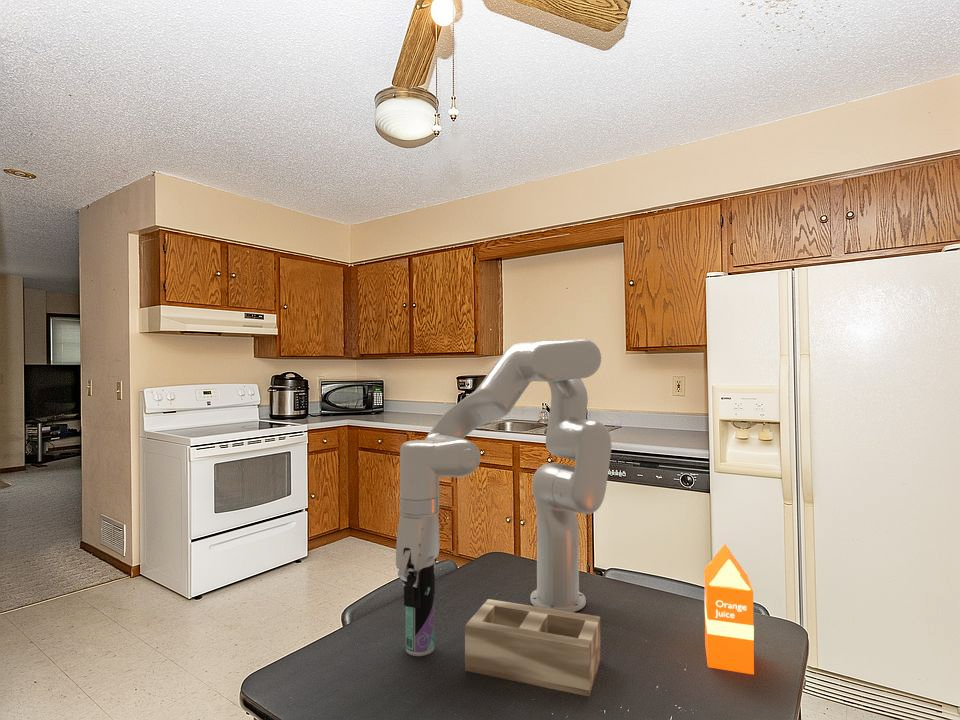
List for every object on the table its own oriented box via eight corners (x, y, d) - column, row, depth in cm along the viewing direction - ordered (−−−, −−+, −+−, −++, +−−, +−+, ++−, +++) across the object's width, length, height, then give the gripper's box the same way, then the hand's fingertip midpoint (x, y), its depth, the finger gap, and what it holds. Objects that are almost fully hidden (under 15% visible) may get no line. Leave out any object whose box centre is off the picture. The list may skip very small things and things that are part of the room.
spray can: (429, 657, 103) (429, 549, 103) (401, 654, 104) (401, 547, 105) (437, 643, 109) (437, 540, 109) (410, 640, 110) (410, 539, 110)
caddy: (488, 639, 110) (488, 598, 110) (600, 660, 102) (600, 616, 102) (465, 670, 99) (464, 625, 99) (589, 696, 91) (588, 647, 91)
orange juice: (748, 650, 106) (747, 545, 106) (754, 674, 97) (753, 560, 97) (704, 643, 108) (703, 540, 108) (706, 667, 100) (705, 555, 100)
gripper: (422, 494, 116) (422, 581, 116) (379, 514, 100) (379, 615, 100) (455, 497, 113) (455, 586, 113) (416, 518, 97) (416, 622, 97)
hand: (419, 599), depth 107 cm, fingers closed on spray can, 5 cm apart
